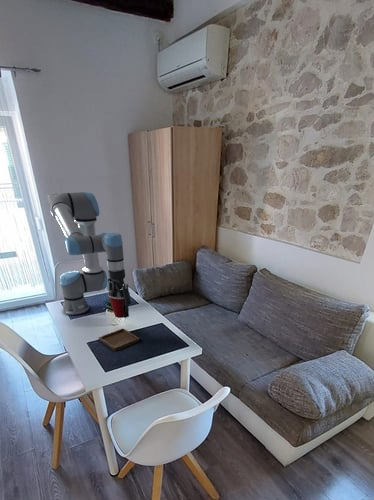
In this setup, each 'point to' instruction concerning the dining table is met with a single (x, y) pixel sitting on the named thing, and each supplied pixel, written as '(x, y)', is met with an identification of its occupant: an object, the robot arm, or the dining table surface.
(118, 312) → the plastic cup
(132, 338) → the tray
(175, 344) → the dining table surface
